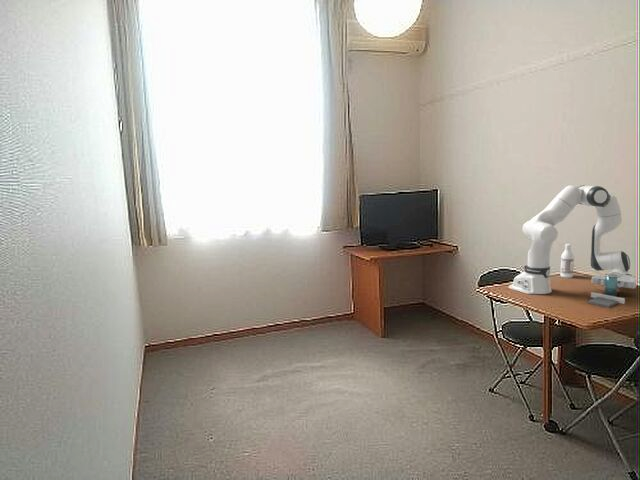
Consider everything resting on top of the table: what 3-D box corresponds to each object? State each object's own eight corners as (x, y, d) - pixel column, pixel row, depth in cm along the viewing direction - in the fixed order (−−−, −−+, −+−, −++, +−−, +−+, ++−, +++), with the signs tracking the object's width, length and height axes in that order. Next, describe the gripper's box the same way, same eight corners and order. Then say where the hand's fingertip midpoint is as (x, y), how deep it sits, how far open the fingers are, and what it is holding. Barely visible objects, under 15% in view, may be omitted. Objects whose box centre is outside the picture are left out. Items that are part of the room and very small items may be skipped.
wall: (590, 297, 256) (590, 292, 256) (591, 296, 257) (592, 292, 257) (623, 303, 243) (623, 299, 243) (624, 303, 244) (624, 298, 244)
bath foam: (569, 278, 294) (570, 245, 290) (558, 276, 300) (559, 244, 296) (575, 276, 298) (576, 244, 294) (564, 274, 303) (565, 242, 300)
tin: (602, 297, 255) (603, 275, 253) (607, 295, 258) (608, 273, 256) (613, 299, 250) (614, 277, 248) (618, 297, 253) (619, 275, 251)
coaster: (587, 303, 247) (587, 300, 247) (597, 299, 253) (597, 296, 252) (608, 307, 239) (608, 305, 239) (618, 303, 244) (618, 301, 244)
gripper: (594, 271, 269) (588, 276, 258) (638, 275, 255) (633, 281, 245) (594, 282, 270) (587, 288, 259) (637, 287, 256) (633, 293, 246)
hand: (610, 284), depth 252 cm, fingers closed on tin, 5 cm apart
